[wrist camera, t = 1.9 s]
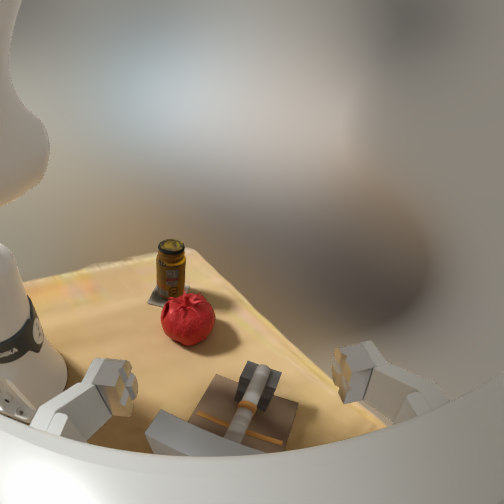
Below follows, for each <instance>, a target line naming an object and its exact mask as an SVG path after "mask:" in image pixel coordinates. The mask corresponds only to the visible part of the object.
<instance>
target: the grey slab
mask: <svg viewBox="0 0 504 504" xmlns="http://www.w3.org/2000/svg"><path fill="white" fill-rule="evenodd" d="M145 436H146V438H147V440H148V442H149V445H150V447H151V449H152V451H153V453H154V454H158V455H170V456H191V457H224V456H245V455H257V454H268V453H265V452H262V451H259V450H256V449H253V448H250V447H247V446H244V445H241V444H239V443H236V442H233V441H231V440H228V439H225V438H223V437H220V436H218V435H215V434H213V433H211V432H208V431H206V430H204V429H201V428H199V427H197V426H195V425H192V424H190V423H188V422H186V421H184V420H182V419H180V418H178V417H176V416H174V415H172V414H170V413H168V412H166V411H164V410H162V409H161V410H160V411H159V413H158V414H157V416H156V417H155V419H154V420H153V421H152V423H151V424H150V426H149V427H148V429H147V430H146V432H145Z"/></svg>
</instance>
